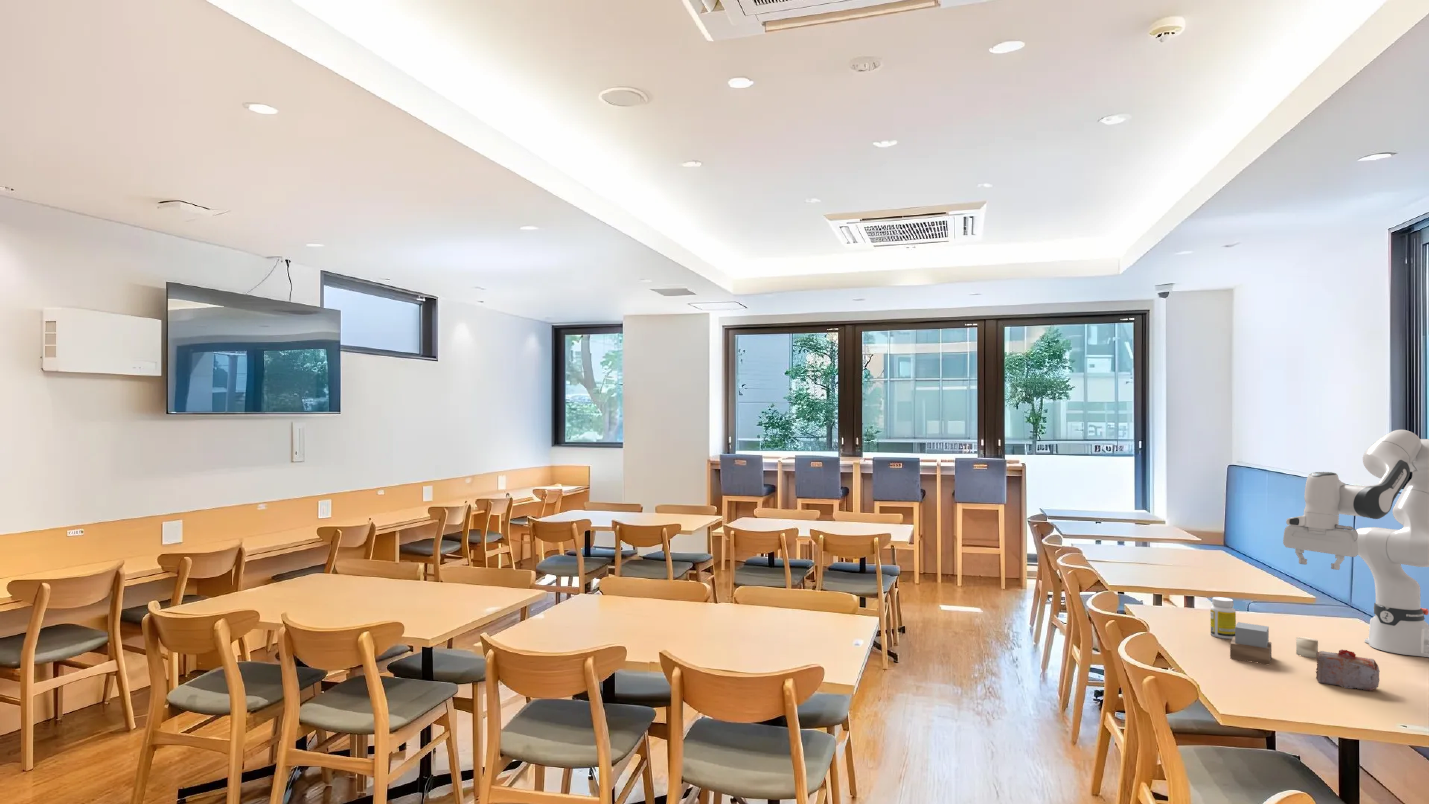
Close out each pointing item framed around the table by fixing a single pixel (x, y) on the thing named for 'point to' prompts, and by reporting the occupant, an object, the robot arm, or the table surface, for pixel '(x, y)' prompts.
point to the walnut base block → (1250, 652)
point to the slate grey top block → (1252, 635)
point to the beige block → (1306, 647)
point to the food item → (1347, 670)
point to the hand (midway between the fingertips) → (1318, 566)
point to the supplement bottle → (1223, 618)
